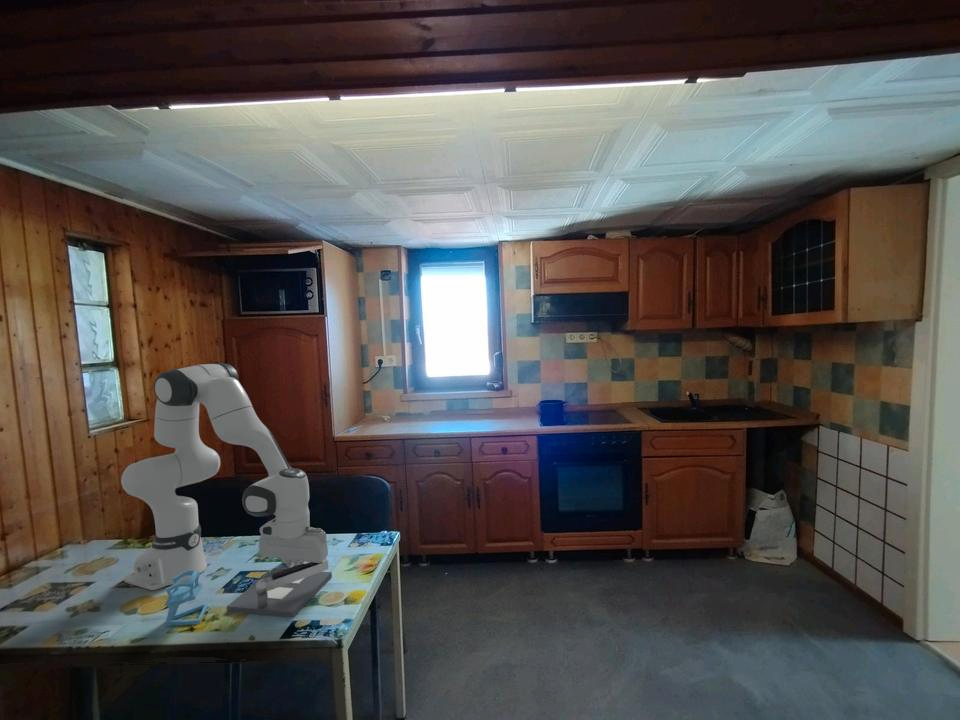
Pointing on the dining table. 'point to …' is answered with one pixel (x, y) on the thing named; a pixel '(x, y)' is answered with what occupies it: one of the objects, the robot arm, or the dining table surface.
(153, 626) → the dining table surface
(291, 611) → the grey base plate
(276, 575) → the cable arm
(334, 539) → the dining table surface
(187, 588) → the chair
